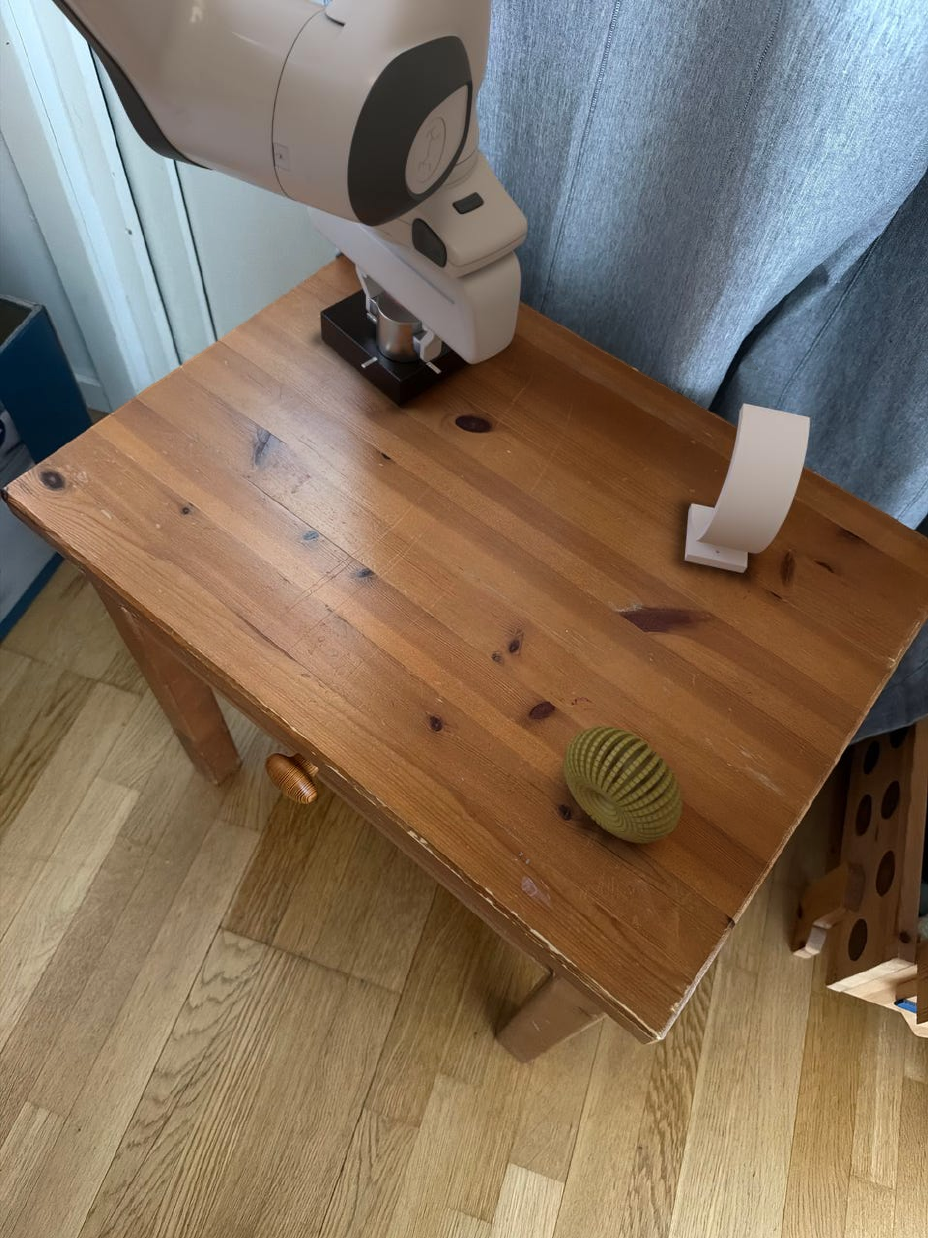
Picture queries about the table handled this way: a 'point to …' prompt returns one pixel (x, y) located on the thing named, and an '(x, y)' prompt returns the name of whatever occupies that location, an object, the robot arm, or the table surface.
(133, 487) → the table surface
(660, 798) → the sculpture
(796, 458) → the headphone stand
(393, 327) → the dial
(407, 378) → the panel
